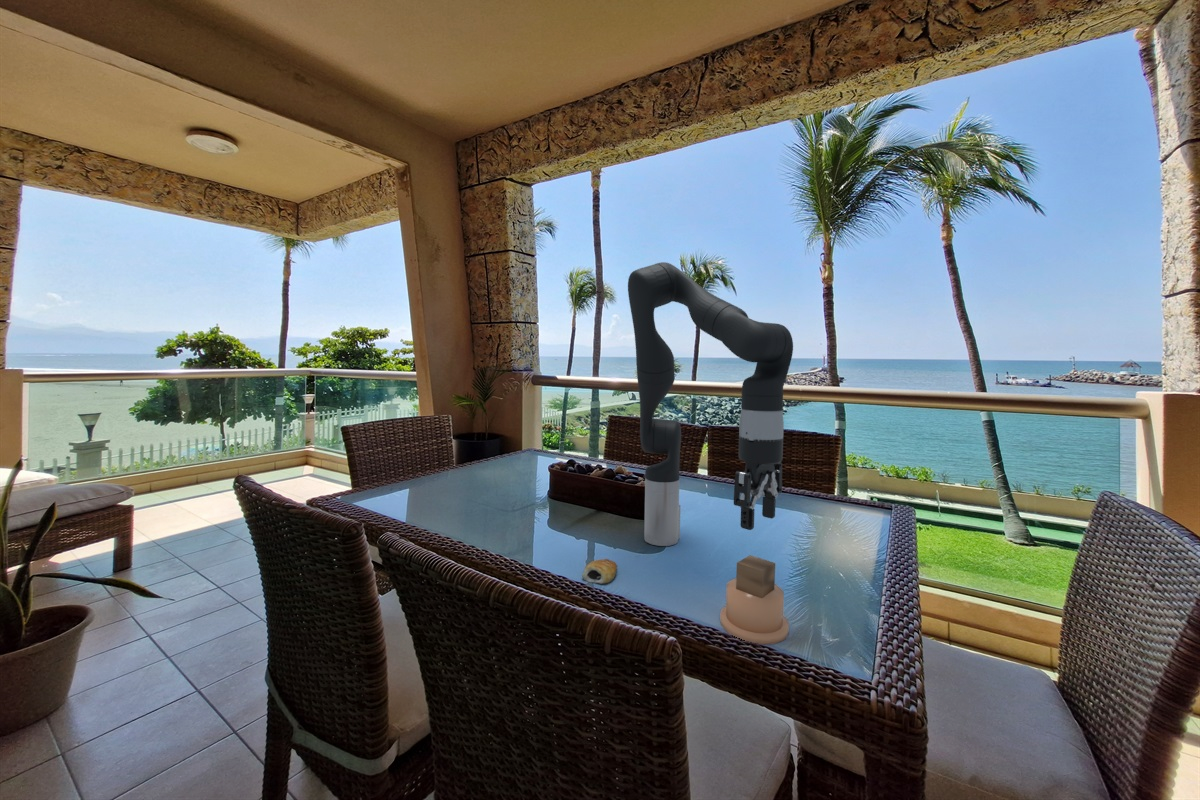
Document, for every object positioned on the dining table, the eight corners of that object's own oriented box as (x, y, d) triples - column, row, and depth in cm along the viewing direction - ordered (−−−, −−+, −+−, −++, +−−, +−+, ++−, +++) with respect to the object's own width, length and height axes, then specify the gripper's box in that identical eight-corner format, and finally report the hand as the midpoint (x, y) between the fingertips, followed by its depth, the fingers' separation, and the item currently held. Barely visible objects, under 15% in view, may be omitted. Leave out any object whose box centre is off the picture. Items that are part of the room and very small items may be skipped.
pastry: (598, 565, 113) (598, 550, 113) (624, 571, 110) (624, 555, 110) (580, 581, 105) (580, 564, 105) (607, 587, 102) (608, 570, 102)
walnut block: (749, 580, 90) (749, 555, 90) (774, 589, 87) (775, 562, 86) (735, 589, 87) (736, 562, 86) (761, 598, 83) (762, 571, 83)
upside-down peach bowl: (740, 602, 96) (741, 569, 95) (799, 626, 87) (800, 589, 87) (707, 625, 87) (708, 588, 87) (769, 653, 79) (771, 613, 78)
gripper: (759, 428, 92) (756, 509, 94) (721, 436, 82) (719, 527, 83) (797, 432, 87) (794, 518, 88) (763, 441, 77) (759, 538, 78)
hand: (758, 522), depth 86 cm, fingers open, 8 cm apart
